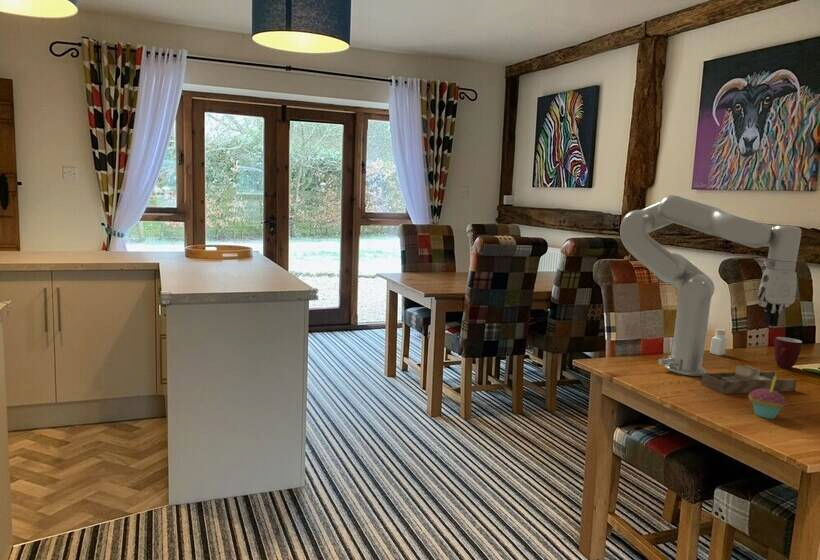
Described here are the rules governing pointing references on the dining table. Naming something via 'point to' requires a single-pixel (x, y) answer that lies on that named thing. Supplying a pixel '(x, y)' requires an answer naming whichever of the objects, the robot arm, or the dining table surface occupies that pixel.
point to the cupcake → (767, 401)
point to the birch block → (746, 373)
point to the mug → (787, 351)
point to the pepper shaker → (718, 343)
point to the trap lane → (745, 383)
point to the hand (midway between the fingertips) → (770, 325)
